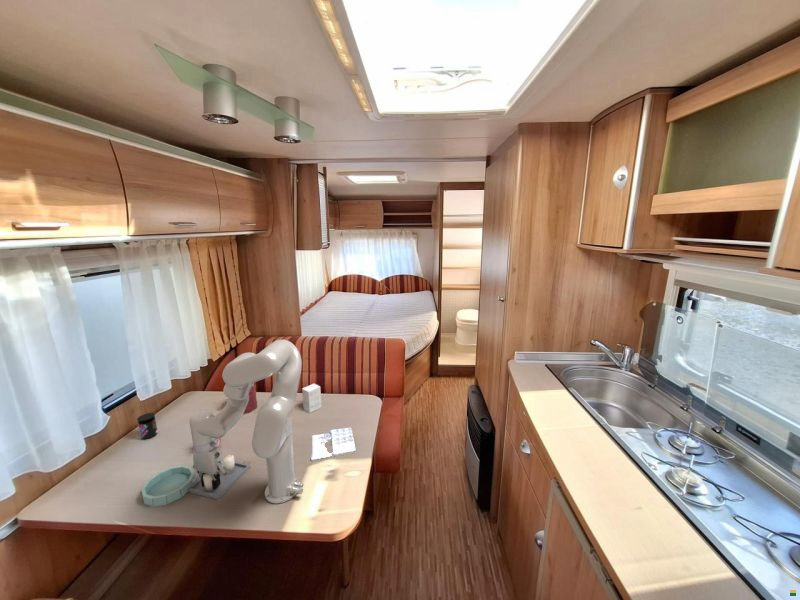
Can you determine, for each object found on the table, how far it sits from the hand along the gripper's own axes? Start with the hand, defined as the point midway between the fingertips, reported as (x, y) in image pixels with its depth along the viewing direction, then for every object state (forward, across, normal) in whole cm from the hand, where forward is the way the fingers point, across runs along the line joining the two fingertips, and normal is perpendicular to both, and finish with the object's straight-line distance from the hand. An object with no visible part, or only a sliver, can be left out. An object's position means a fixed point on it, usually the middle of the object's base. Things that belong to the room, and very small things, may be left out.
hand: (211, 485), depth 121 cm
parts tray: (+2, 0, -4) cm, 5 cm away
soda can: (+2, +18, -18) cm, 26 cm away
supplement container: (+2, +56, -18) cm, 59 cm away
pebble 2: (+1, 0, -9) cm, 9 cm away
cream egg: (+1, 0, 0) cm, 1 cm away
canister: (+2, +29, -52) cm, 59 cm away
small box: (+2, -8, -62) cm, 62 cm away
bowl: (+2, +15, +4) cm, 16 cm away
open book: (+3, -33, -36) cm, 49 cm away
